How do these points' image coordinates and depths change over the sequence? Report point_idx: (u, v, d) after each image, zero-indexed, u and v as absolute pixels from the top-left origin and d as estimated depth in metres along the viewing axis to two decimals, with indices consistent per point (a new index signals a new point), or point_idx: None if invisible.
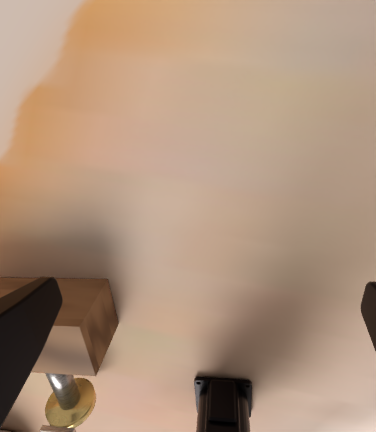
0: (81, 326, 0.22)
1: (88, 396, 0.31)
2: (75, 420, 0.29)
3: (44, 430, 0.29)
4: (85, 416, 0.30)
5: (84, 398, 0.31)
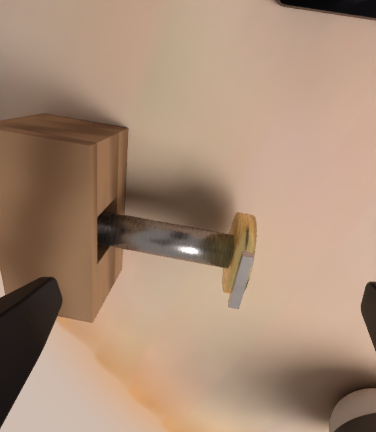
0: None
1: (236, 221, 0.18)
2: (237, 247, 0.15)
3: (230, 299, 0.16)
4: (248, 231, 0.16)
5: (235, 228, 0.18)
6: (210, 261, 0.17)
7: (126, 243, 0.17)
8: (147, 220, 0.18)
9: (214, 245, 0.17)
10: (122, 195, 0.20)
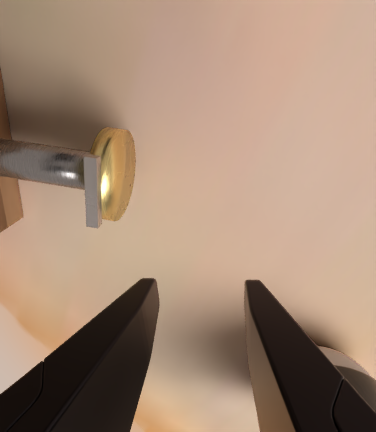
0: None
1: None
2: (89, 154, 0.13)
3: (86, 216, 0.14)
4: (106, 139, 0.14)
5: None
6: (77, 182, 0.15)
7: None
8: (11, 140, 0.16)
9: (79, 162, 0.15)
10: (2, 123, 0.18)
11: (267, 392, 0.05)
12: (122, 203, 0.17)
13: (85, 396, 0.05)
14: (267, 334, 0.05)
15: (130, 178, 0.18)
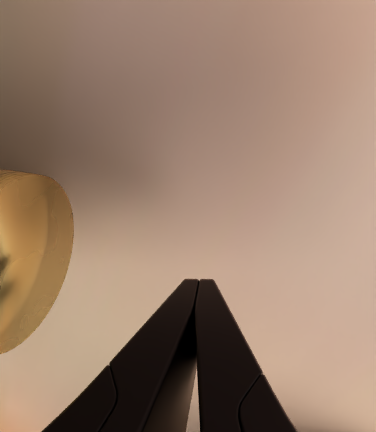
0: None
1: None
2: None
3: None
4: None
5: None
6: None
7: None
8: None
9: None
10: None
11: None
12: (40, 302, 0.09)
13: (160, 401, 0.04)
14: (203, 331, 0.06)
15: (62, 249, 0.10)
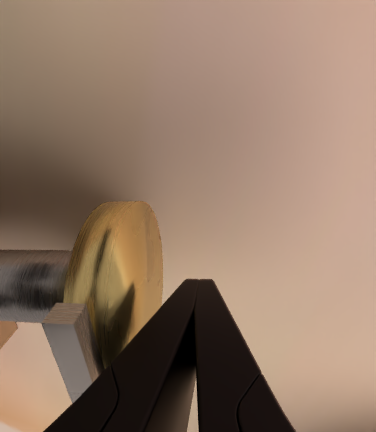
0: None
1: None
2: (64, 289, 0.06)
3: None
4: (97, 243, 0.06)
5: None
6: None
7: None
8: None
9: (56, 284, 0.08)
10: None
11: None
12: None
13: (161, 402, 0.04)
14: (202, 331, 0.06)
15: (158, 271, 0.10)
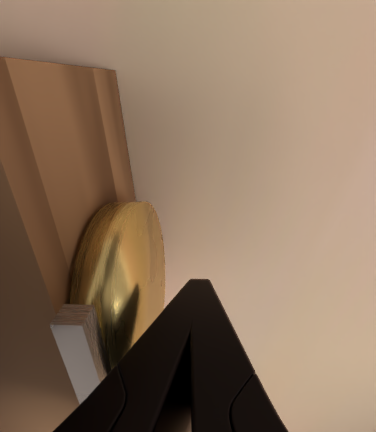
0: None
1: None
2: None
3: None
4: (102, 244, 0.06)
5: None
6: None
7: None
8: None
9: None
10: None
11: None
12: None
13: (169, 402, 0.04)
14: (197, 331, 0.06)
15: (160, 271, 0.10)
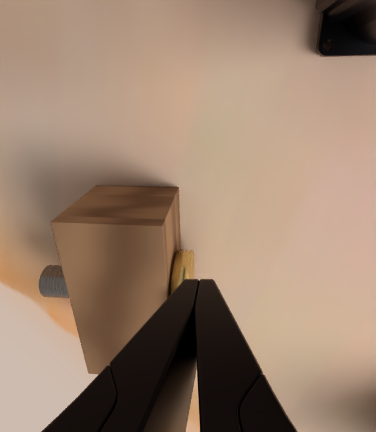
0: (58, 220, 0.15)
1: None
2: (170, 288, 0.16)
3: None
4: (181, 272, 0.17)
5: None
6: None
7: None
8: None
9: None
10: (179, 249, 0.21)
11: None
12: None
13: (160, 401, 0.04)
14: (203, 331, 0.06)
15: None
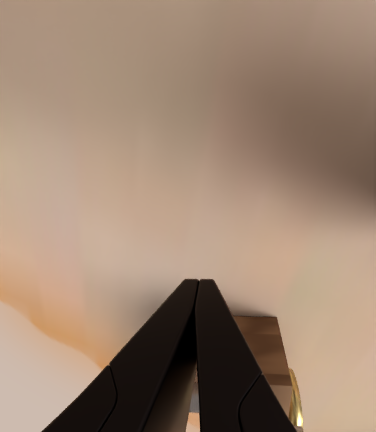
0: None
1: None
2: (288, 417, 0.21)
3: None
4: (294, 401, 0.21)
5: None
6: None
7: None
8: None
9: None
10: None
11: None
12: None
13: (160, 402, 0.04)
14: (203, 331, 0.06)
15: None
